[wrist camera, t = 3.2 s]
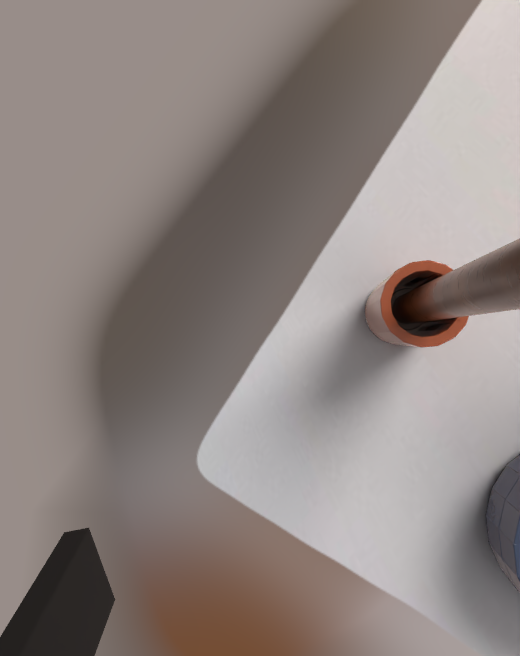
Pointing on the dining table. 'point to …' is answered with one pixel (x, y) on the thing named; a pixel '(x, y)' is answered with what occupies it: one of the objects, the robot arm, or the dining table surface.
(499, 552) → the bowl
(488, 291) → the stirring stick
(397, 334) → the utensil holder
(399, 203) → the dining table surface
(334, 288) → the dining table surface
